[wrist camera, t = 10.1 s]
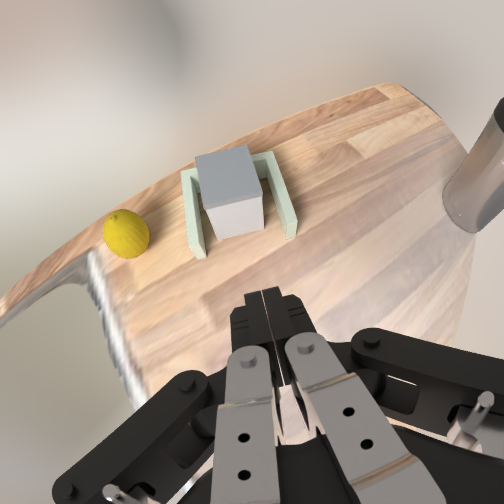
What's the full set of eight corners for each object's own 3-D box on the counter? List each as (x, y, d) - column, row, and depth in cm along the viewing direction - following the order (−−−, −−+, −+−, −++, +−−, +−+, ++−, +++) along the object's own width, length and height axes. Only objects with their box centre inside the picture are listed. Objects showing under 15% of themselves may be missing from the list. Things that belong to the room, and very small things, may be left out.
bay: (272, 169, 40) (272, 150, 36) (295, 237, 35) (297, 220, 32) (188, 188, 39) (180, 171, 36) (197, 259, 35) (188, 245, 31)
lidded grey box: (252, 185, 39) (247, 144, 32) (265, 229, 36) (262, 191, 29) (208, 196, 39) (195, 157, 31) (217, 241, 36) (203, 206, 28)
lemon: (157, 226, 37) (133, 192, 30) (159, 262, 35) (132, 233, 28) (122, 235, 37) (94, 205, 30) (122, 271, 35) (90, 245, 28)
